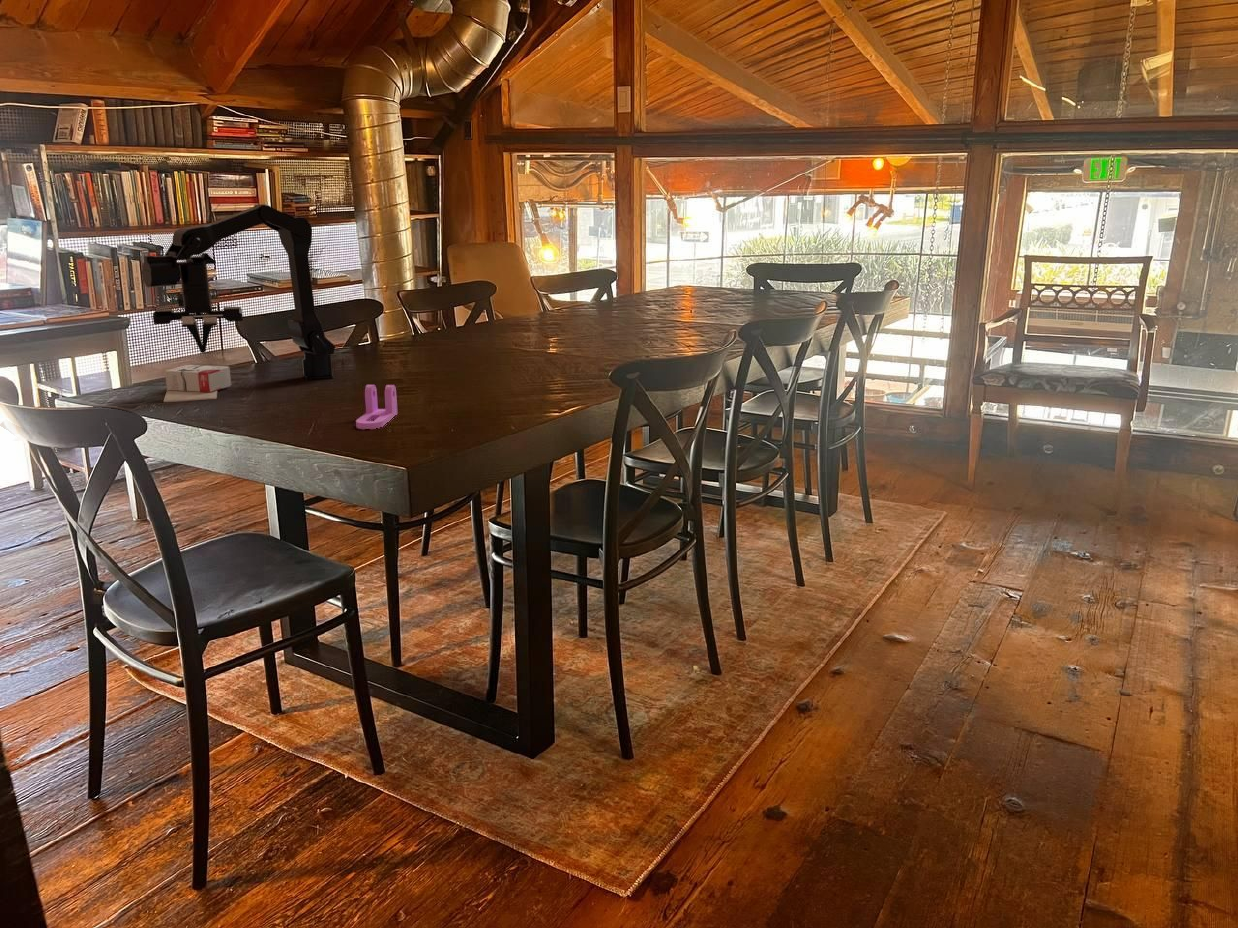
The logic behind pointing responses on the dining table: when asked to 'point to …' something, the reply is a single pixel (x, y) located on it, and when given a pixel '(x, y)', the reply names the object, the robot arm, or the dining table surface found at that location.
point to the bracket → (372, 408)
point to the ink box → (198, 378)
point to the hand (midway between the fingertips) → (203, 352)
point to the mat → (188, 395)
